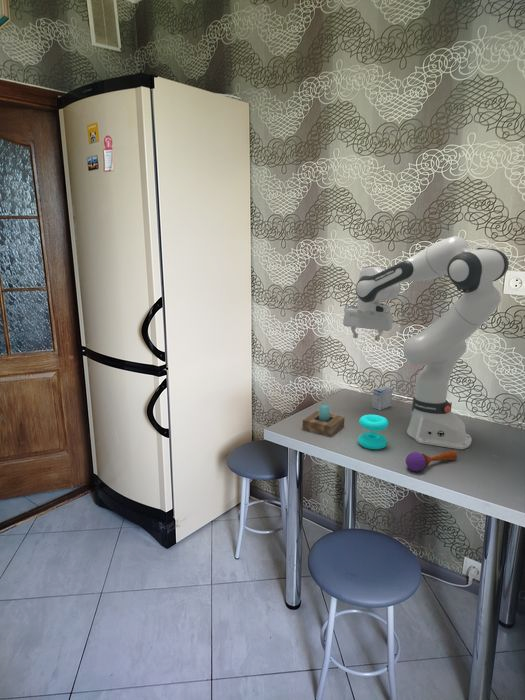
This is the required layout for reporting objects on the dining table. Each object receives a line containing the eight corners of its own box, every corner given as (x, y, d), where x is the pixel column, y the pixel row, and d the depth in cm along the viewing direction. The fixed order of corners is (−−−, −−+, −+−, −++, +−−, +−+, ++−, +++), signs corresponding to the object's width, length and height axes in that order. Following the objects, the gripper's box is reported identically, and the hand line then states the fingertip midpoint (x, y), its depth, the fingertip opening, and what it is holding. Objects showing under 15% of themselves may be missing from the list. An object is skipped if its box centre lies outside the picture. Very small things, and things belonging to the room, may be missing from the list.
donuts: (383, 425, 155) (355, 419, 160) (381, 453, 157) (353, 446, 162) (392, 416, 163) (365, 411, 168) (390, 443, 165) (363, 436, 170)
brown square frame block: (343, 426, 180) (344, 416, 179) (331, 436, 170) (331, 426, 169) (316, 420, 186) (316, 410, 185) (302, 429, 176) (302, 419, 175)
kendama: (462, 452, 150) (418, 460, 140) (457, 467, 152) (412, 476, 142) (448, 442, 154) (404, 449, 145) (443, 457, 157) (399, 465, 147)
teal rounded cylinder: (330, 427, 178) (331, 405, 176) (326, 431, 175) (327, 408, 173) (321, 425, 181) (322, 403, 179) (316, 428, 177) (317, 406, 175)
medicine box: (382, 404, 206) (384, 385, 204) (391, 406, 203) (392, 387, 201) (371, 407, 201) (373, 388, 199) (380, 410, 198) (381, 391, 196)
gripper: (341, 304, 191) (339, 337, 194) (390, 308, 180) (387, 343, 184) (347, 303, 196) (345, 335, 199) (394, 307, 186) (392, 340, 189)
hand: (366, 339), depth 191 cm, fingers open, 8 cm apart
